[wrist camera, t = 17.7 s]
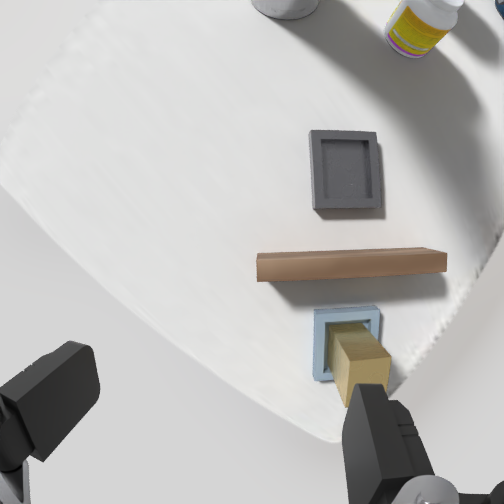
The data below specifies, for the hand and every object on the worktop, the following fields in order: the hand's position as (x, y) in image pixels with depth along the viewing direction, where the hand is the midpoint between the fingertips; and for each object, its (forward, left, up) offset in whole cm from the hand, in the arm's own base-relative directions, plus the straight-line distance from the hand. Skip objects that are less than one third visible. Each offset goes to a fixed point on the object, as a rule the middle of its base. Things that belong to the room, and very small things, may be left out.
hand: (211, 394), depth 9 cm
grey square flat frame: (-10, +11, -28) cm, 31 cm away
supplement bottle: (-29, +22, -28) cm, 46 cm away
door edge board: (0, +11, -28) cm, 30 cm away
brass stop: (+10, +11, -27) cm, 31 cm away
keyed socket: (+10, +11, -28) cm, 31 cm away
